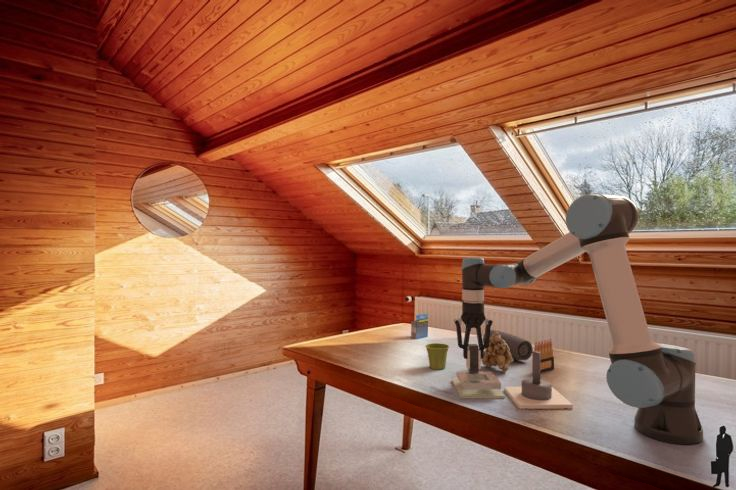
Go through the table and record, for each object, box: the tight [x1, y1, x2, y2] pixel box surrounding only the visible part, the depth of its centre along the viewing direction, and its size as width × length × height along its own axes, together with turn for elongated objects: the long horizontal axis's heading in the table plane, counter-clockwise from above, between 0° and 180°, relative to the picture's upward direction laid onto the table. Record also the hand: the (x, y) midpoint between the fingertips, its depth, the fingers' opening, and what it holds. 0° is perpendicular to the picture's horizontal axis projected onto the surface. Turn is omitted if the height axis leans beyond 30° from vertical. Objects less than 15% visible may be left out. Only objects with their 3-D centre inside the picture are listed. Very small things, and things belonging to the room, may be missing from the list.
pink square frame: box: [456, 343, 502, 390], centre depth 152 cm, size 15×12×11 cm
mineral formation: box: [481, 332, 514, 373], centre depth 174 cm, size 8×13×15 cm, turn 32°
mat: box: [451, 378, 506, 399], centre depth 152 cm, size 17×14×1 cm
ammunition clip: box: [533, 338, 555, 374], centre depth 172 cm, size 11×2×12 cm, turn 123°
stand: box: [503, 350, 574, 410], centre depth 143 cm, size 16×16×15 cm
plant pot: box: [425, 342, 450, 371], centre depth 177 cm, size 9×9×9 cm
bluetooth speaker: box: [482, 329, 534, 361], centre depth 193 cm, size 23×9×10 cm, turn 22°
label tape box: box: [410, 313, 429, 340], centre depth 229 cm, size 9×4×12 cm, turn 130°
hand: (473, 367), depth 158 cm, fingers closed on pink square frame, 3 cm apart
